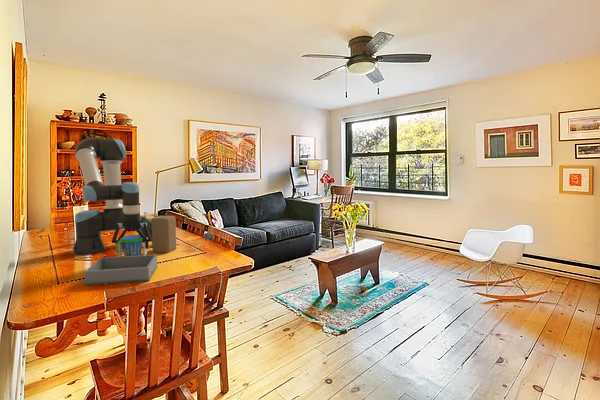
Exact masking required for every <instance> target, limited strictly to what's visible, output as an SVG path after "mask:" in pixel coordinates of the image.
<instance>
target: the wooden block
mask: <svg viewBox="0 0 600 400" xmlns="http://www.w3.org/2000/svg"><path fill="white" fill-rule="evenodd" d="M150 220H151V222H152V241H151V247H152V252H153V253H163V254H164V253H165V254H166V253H167V254H169V253H170V252H172V251H174V250H176V249H177V220H176V216H175V215H158V216H155V217H152V218H150Z"/></svg>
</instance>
